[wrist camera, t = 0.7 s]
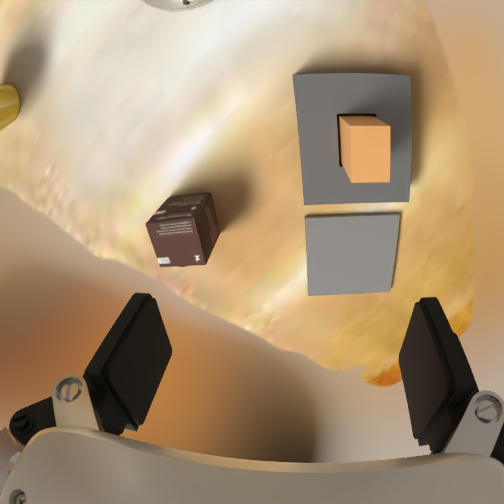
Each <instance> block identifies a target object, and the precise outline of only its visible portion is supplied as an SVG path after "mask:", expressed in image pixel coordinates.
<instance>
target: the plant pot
mask: <svg viewBox="0 0 504 504" xmlns="http://www.w3.org/2000/svg"><path fill="white" fill-rule="evenodd" d="M19 107H20V99H19V95H18V92H17V90H16V89H15V88H14V87H13V86H12V85H9V84H0V131H1V130H2V129H3V128H5V127H6V126H8V125H9V124H10V123H12V122H13V121H14V120H15V119H16V117H17V115H18V112H19Z"/></svg>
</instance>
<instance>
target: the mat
mask: <svg viewBox="0 0 504 504" xmlns="http://www.w3.org/2000/svg"><path fill="white" fill-rule="evenodd" d="M399 219H400V215H399V213H380V214H348V215H323V216H305V229H306V251H307V277H308V296H315V295H339V294H359V293H377V292H390V289H391V283H392V277H393V270H394V263H395V255H396V247H397V239H398V229H399Z"/></svg>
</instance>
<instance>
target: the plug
mask: <svg viewBox="0 0 504 504" xmlns="http://www.w3.org/2000/svg"><path fill="white" fill-rule="evenodd" d="M337 128H338V147H339V159H340V161H341V163H342V165H343V167H344V169H345V171H346V173H347V175H348V177H349V179H350V181H351V183H369V182H390V126H389V125H387V124H386V123H384V122H382V121H381V120H379V119H377V118H375V117H374V116H372V115H370V114H337Z"/></svg>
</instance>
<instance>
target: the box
mask: <svg viewBox="0 0 504 504" xmlns="http://www.w3.org/2000/svg"><path fill="white" fill-rule="evenodd" d="M146 227H147V230H148V233H149V236H150V239H151V242H152V245H153V248H154V251H155V254H156V256H157V260H158V262H159V265H160V267H171V266H178V267H185V266H191V265H206V264H207V261H208V259H209V257H210V254H211V252H212V250H213V248H214V245H215V243H216V241H217V239H218V237H219V235H220V232H219V228H218V223H217V219H216V215H215V211H214V206H213V202H212V198H211V194H210V193H200V194H191V195H183V196H177V197H170V198H168V199H167V200H166V201H165V202H164V203H163V204H162V205H161V207H160V208H159V209H158V210H157V211H156V212H155V213H154V215H153V216H152V217H151V218H150V220H149V221H148V222H147V223H146Z"/></svg>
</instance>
